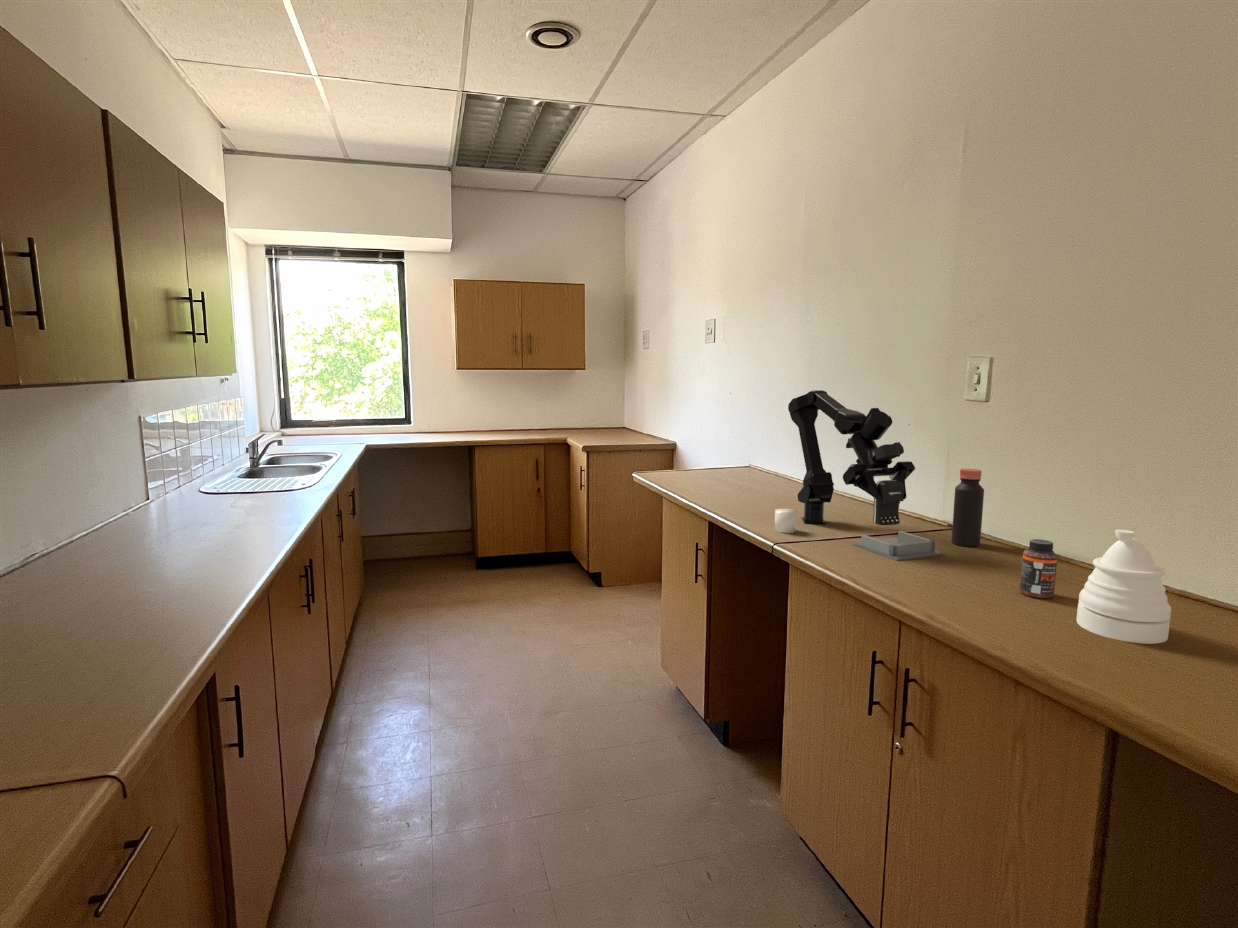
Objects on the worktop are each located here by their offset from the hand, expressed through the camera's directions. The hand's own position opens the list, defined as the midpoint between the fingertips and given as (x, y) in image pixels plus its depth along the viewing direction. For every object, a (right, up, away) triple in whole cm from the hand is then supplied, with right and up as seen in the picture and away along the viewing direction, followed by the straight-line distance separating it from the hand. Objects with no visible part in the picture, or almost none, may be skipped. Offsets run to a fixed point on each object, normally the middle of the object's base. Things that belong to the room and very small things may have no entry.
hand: (893, 499), depth 162 cm
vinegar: (+23, -13, +8) cm, 27 cm away
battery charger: (0, -7, +2) cm, 7 cm away
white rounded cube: (-21, -11, +24) cm, 33 cm away
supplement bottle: (+16, -18, -31) cm, 39 cm away
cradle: (+2, -13, +3) cm, 14 cm away
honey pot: (+20, -21, -48) cm, 56 cm away
